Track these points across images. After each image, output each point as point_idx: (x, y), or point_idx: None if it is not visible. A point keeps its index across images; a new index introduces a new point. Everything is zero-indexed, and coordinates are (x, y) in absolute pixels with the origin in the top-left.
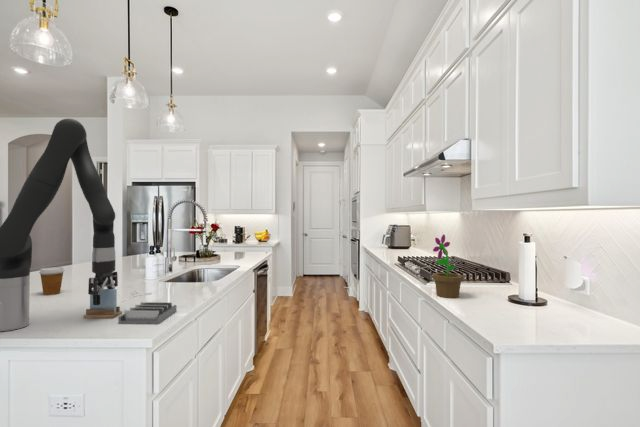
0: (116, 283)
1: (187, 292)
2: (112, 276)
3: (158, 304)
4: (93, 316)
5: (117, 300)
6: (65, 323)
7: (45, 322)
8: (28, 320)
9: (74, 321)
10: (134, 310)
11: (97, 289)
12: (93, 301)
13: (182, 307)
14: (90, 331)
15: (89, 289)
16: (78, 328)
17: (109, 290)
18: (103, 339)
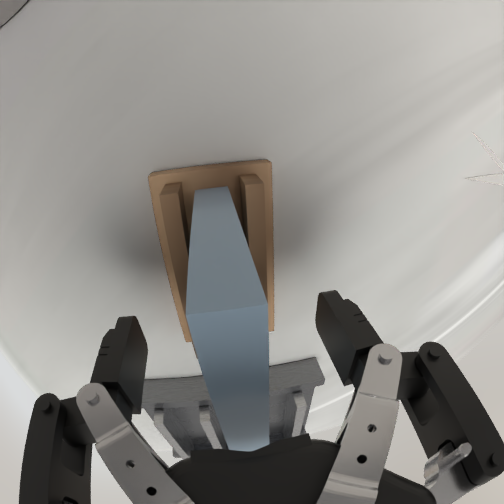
0: (412, 406)
1: (491, 319)
2: (425, 476)
3: (290, 433)
4: (161, 243)
5: (487, 146)
6: (49, 156)
7: (56, 29)
8: (2, 9)
9: (86, 173)
10: (173, 439)
11: (236, 377)
12: (102, 348)
13: (343, 412)
14: (38, 343)
15: (34, 440)
16: (29, 285)
17: (228, 444)
18: (35, 393)
